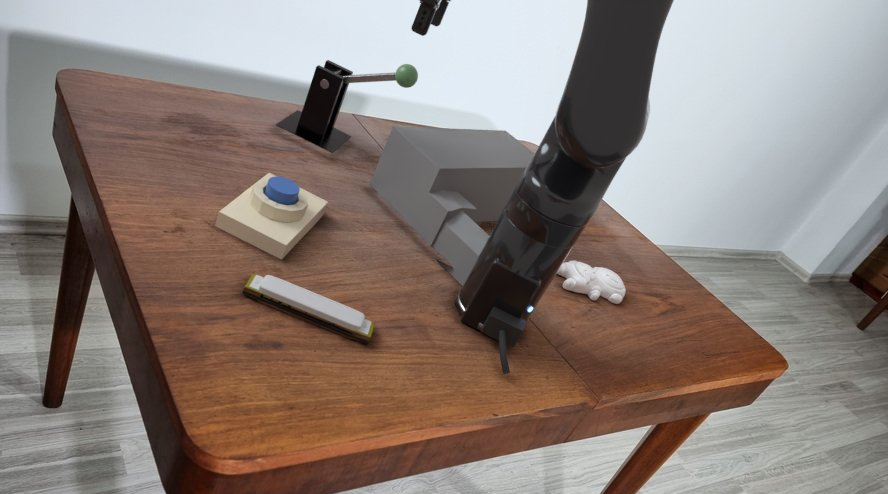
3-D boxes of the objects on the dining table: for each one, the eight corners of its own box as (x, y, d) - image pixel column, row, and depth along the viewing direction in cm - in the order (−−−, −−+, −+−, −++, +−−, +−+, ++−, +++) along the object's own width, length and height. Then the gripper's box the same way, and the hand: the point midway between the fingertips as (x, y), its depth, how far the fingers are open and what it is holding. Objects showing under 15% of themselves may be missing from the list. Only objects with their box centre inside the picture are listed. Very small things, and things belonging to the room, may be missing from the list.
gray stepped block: (463, 289, 94) (499, 222, 88) (367, 190, 106) (392, 126, 101) (572, 269, 110) (608, 212, 104) (478, 186, 123) (505, 130, 117)
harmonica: (241, 296, 76) (245, 281, 75) (250, 281, 79) (254, 267, 78) (366, 347, 77) (372, 333, 76) (371, 330, 80) (377, 317, 79)
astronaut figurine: (546, 259, 110) (555, 244, 108) (610, 276, 113) (620, 261, 112) (564, 294, 103) (574, 278, 101) (632, 311, 107) (643, 296, 105)
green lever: (421, 84, 107) (419, 61, 105) (415, 89, 104) (413, 65, 103) (328, 89, 112) (325, 66, 110) (320, 94, 109) (317, 71, 107)
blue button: (287, 210, 87) (292, 198, 86) (259, 195, 87) (262, 183, 86) (300, 198, 90) (304, 186, 89) (272, 184, 90) (276, 172, 89)
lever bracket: (349, 142, 118) (373, 76, 111) (330, 159, 110) (354, 90, 104) (295, 116, 118) (316, 49, 112) (273, 131, 111) (294, 60, 104)
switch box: (281, 260, 84) (290, 232, 82) (214, 226, 85) (222, 198, 83) (323, 215, 96) (332, 190, 94) (264, 186, 96) (272, 160, 94)
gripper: (489, -77, 86) (437, 48, 95) (506, -80, 99) (458, 31, 107) (434, -103, 87) (387, 24, 96) (457, -103, 99) (414, 10, 108)
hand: (425, 28), depth 101 cm, fingers open, 8 cm apart
